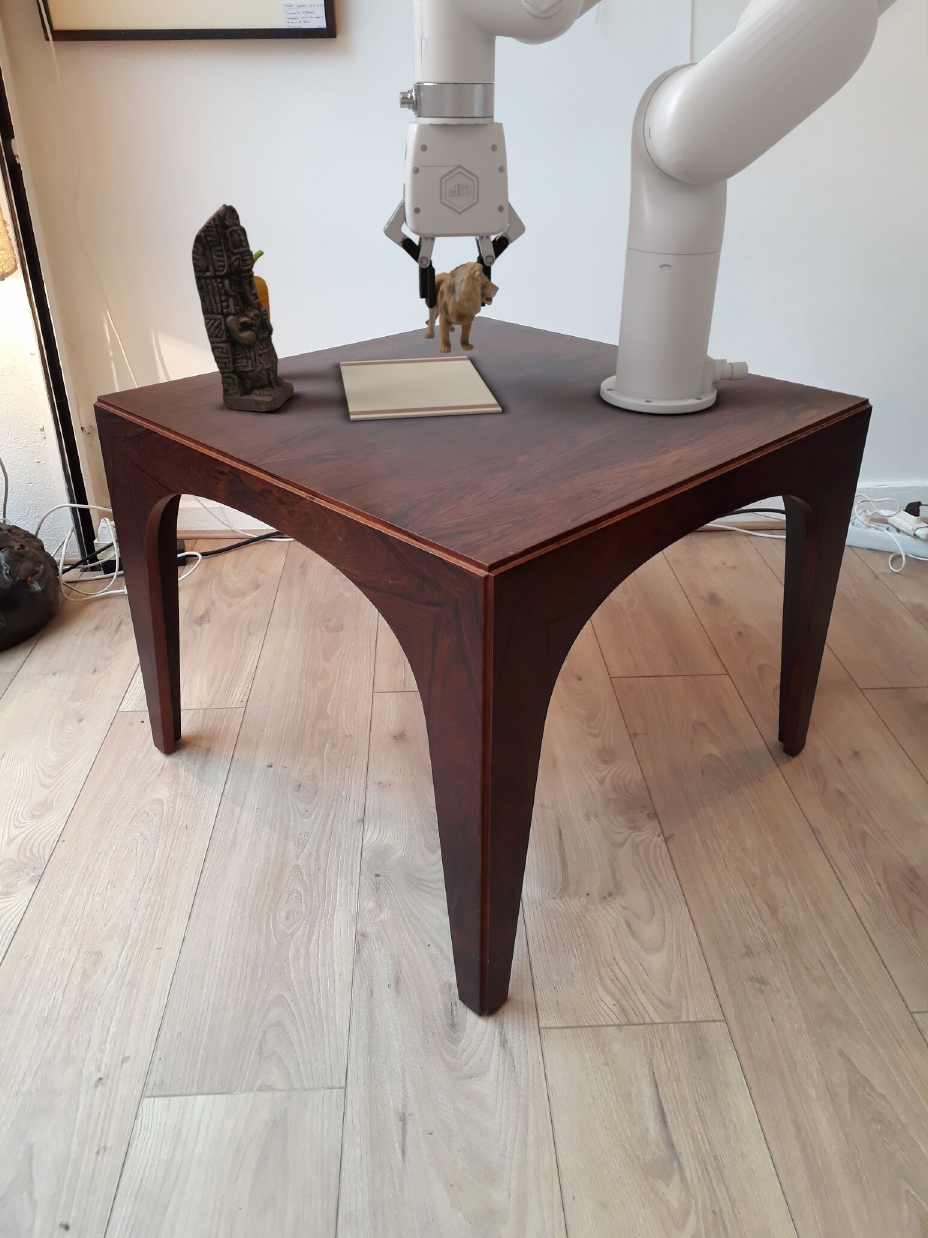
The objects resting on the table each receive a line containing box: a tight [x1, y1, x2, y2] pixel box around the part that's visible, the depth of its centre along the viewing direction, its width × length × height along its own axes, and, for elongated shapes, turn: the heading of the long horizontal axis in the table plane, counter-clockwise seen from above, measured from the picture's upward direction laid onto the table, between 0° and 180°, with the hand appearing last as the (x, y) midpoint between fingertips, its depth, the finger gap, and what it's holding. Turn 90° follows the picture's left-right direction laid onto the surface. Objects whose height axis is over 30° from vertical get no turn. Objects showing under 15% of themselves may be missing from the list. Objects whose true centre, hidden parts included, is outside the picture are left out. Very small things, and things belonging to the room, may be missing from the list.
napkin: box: [339, 355, 503, 422], centre depth 105 cm, size 16×22×1 cm
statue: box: [191, 203, 295, 412], centre depth 94 cm, size 7×7×20 cm
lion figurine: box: [423, 261, 500, 354], centre depth 95 cm, size 15×5×9 cm, turn 23°
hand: (454, 302), depth 95 cm, fingers closed on lion figurine, 4 cm apart
